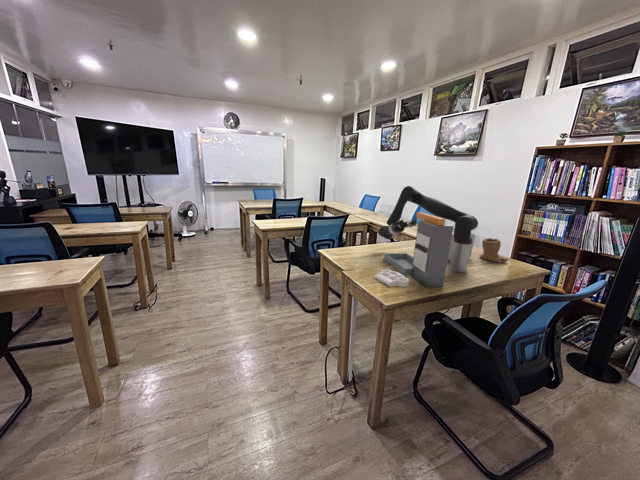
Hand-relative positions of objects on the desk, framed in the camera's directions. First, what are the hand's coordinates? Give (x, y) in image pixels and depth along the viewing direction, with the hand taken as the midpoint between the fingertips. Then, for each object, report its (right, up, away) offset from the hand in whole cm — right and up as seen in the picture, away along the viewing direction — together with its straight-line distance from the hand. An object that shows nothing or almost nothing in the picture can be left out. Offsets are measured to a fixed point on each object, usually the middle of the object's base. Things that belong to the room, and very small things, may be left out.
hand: (409, 221), depth 150 cm
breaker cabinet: (+4, -33, -15) cm, 37 cm away
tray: (-1, -27, +6) cm, 28 cm away
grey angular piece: (+37, -24, +24) cm, 50 cm away
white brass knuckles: (-15, -33, -15) cm, 39 cm away
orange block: (+4, -1, -19) cm, 19 cm away
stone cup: (+64, -25, +23) cm, 72 cm away
